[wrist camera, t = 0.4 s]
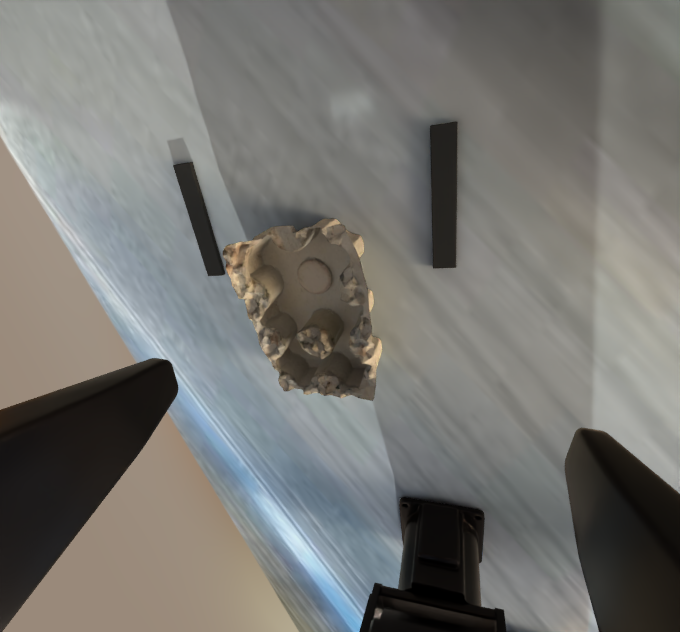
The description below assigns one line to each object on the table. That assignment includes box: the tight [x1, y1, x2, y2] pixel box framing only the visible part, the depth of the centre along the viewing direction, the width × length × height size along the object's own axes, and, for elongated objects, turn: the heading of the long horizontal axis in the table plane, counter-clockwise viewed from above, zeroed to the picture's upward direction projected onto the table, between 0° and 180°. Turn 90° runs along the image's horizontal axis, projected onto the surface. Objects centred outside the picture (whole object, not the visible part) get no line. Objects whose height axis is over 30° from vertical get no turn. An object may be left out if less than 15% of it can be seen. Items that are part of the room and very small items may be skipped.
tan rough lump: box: [223, 219, 382, 401], centre depth 21 cm, size 11×8×4 cm
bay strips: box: [173, 122, 457, 276], centre depth 20 cm, size 7×16×1 cm, turn 98°
